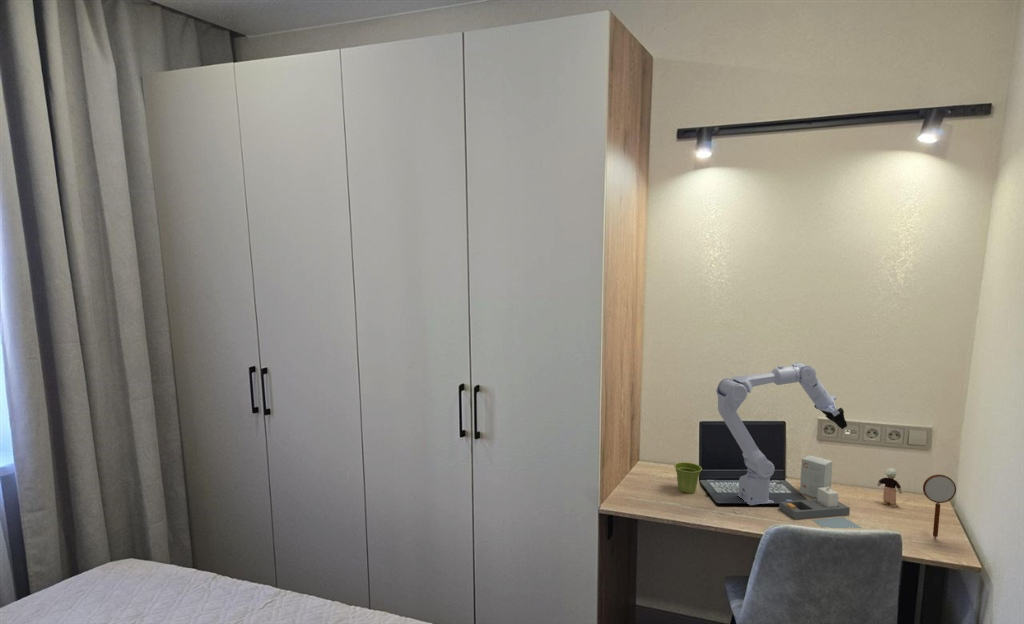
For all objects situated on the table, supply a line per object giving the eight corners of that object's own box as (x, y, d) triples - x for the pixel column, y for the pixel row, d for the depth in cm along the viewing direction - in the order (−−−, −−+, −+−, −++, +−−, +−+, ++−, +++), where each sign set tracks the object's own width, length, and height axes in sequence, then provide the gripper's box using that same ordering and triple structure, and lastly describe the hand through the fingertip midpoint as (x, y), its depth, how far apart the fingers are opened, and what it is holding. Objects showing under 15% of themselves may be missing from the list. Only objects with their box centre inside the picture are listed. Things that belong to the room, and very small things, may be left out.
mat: (834, 536, 178) (834, 534, 178) (811, 521, 188) (811, 519, 187) (868, 532, 180) (868, 531, 180) (843, 518, 190) (843, 517, 190)
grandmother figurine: (902, 505, 201) (905, 469, 199) (900, 509, 198) (903, 472, 197) (876, 499, 206) (879, 464, 205) (874, 502, 203) (877, 466, 202)
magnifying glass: (920, 538, 177) (925, 474, 175) (917, 536, 179) (923, 472, 177) (952, 542, 175) (958, 477, 173) (949, 539, 177) (955, 475, 175)
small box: (830, 496, 207) (833, 461, 206) (822, 501, 203) (825, 464, 202) (807, 489, 214) (809, 454, 212) (799, 493, 210) (801, 458, 208)
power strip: (795, 522, 188) (795, 510, 187) (778, 511, 195) (779, 500, 195) (849, 518, 192) (849, 505, 191) (831, 507, 199) (831, 496, 199)
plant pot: (706, 494, 208) (707, 470, 207) (682, 496, 205) (683, 472, 204) (690, 484, 217) (692, 461, 216) (668, 486, 214) (669, 463, 213)
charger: (827, 514, 192) (829, 490, 191) (816, 508, 196) (818, 484, 196) (837, 513, 192) (838, 489, 192) (826, 507, 197) (827, 483, 196)
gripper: (837, 393, 194) (860, 424, 195) (818, 379, 208) (839, 408, 210) (818, 405, 195) (841, 436, 197) (800, 390, 209) (821, 419, 211)
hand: (839, 422), depth 203 cm, fingers open, 7 cm apart
